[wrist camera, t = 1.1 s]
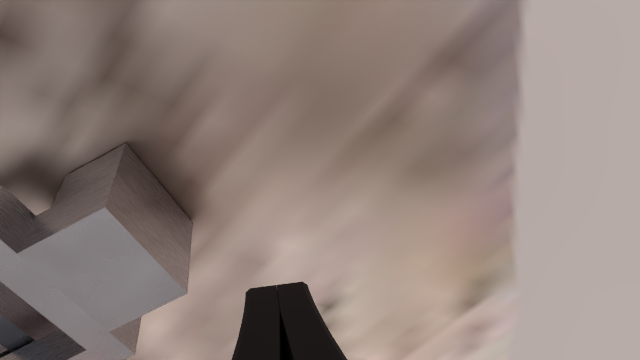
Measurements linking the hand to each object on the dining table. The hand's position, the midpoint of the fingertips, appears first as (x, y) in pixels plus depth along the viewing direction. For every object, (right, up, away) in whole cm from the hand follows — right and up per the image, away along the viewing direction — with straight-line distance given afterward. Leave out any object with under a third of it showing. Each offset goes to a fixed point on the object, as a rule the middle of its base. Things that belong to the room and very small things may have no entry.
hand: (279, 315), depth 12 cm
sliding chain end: (-10, +1, +9) cm, 13 cm away
